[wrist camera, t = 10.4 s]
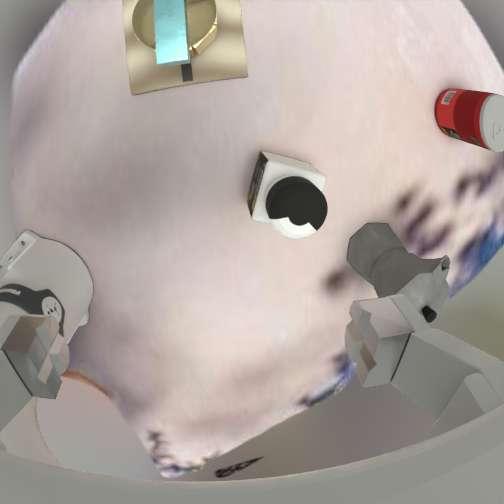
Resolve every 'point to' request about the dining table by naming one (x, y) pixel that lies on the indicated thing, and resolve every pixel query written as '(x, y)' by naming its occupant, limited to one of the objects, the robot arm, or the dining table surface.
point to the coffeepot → (399, 269)
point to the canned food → (472, 117)
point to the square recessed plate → (201, 68)
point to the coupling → (175, 28)
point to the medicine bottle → (287, 195)
